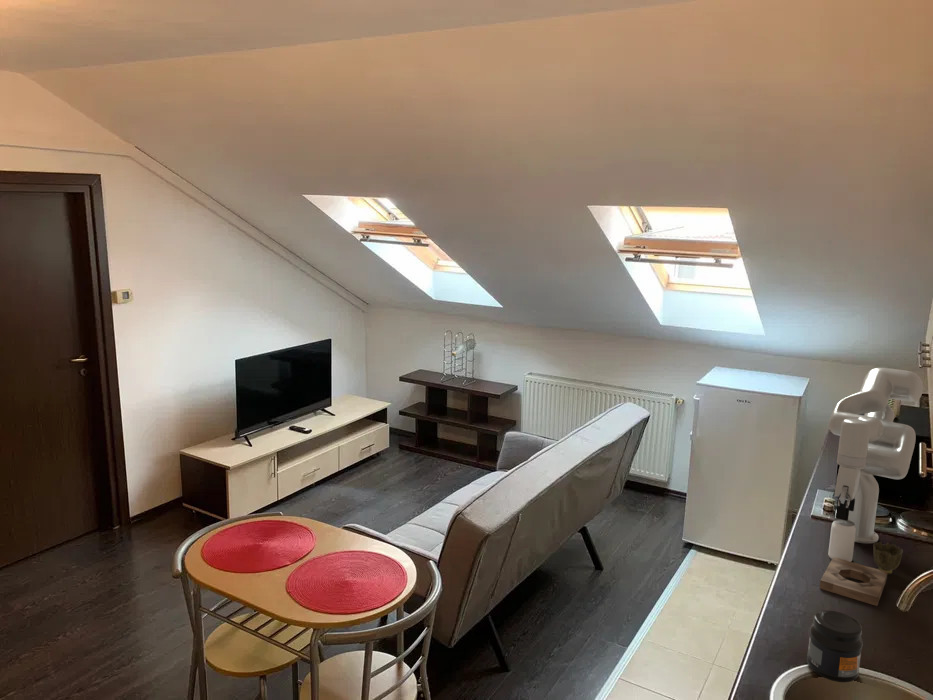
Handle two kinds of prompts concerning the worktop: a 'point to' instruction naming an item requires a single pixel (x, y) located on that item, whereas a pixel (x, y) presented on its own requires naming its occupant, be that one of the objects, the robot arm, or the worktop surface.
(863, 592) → the hole plate
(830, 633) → the supplement container
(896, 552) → the cup
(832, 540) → the can
